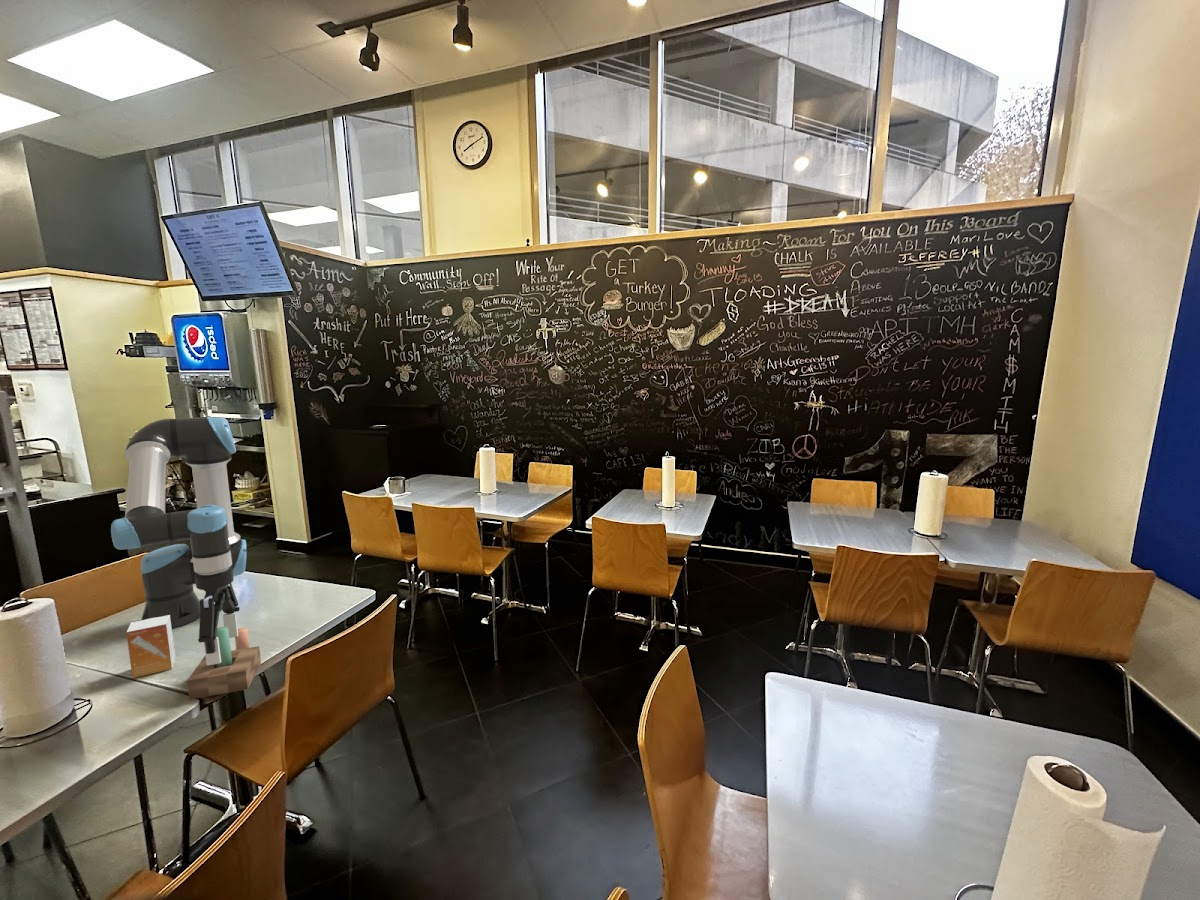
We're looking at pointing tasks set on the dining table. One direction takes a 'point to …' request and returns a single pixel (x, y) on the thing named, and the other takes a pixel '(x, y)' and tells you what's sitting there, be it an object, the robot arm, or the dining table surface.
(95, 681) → the dining table surface
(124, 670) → the dining table surface
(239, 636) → the short dowel
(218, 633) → the long dowel
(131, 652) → the small box
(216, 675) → the collar block
